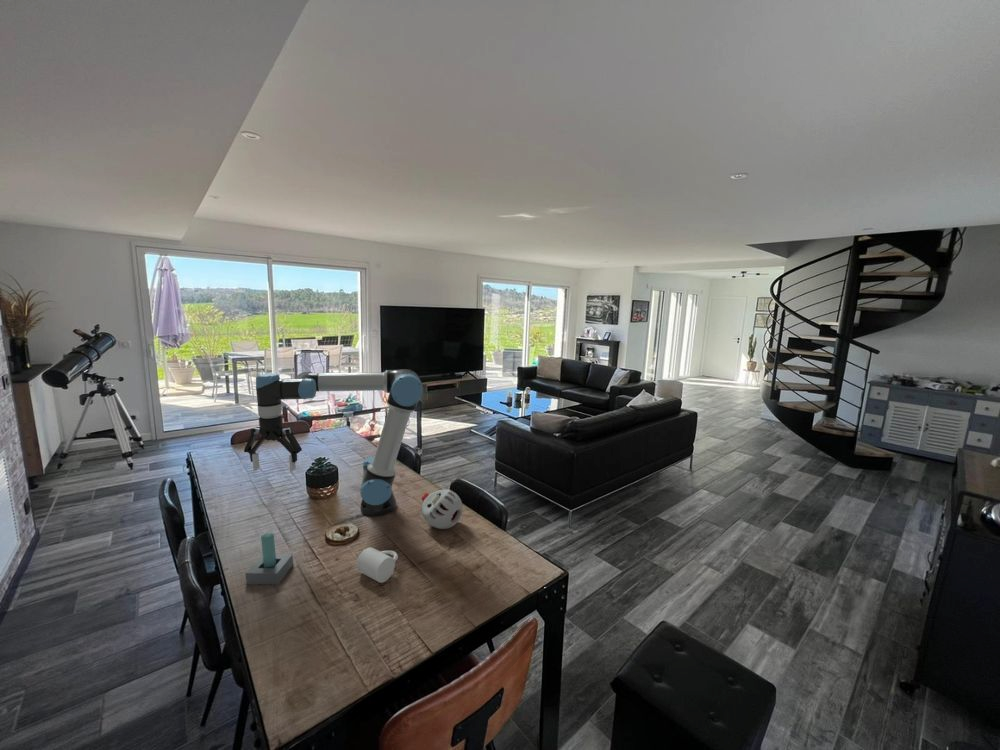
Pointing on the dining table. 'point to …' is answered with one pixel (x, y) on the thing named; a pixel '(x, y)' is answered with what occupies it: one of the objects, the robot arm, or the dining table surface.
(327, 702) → the dining table surface
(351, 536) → the round brown cream disc
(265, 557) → the peg
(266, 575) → the socket
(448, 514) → the decorative object
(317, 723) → the dining table surface
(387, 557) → the mug
